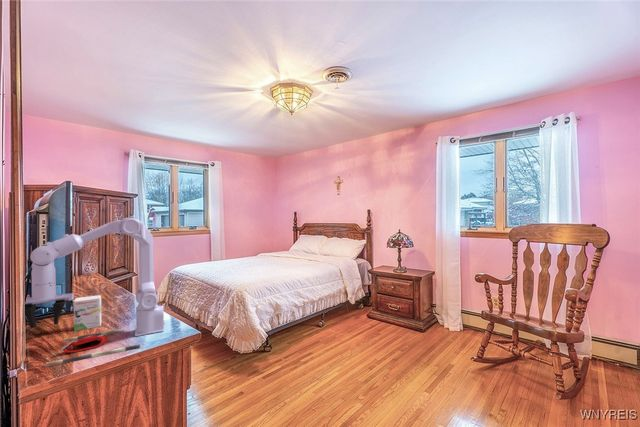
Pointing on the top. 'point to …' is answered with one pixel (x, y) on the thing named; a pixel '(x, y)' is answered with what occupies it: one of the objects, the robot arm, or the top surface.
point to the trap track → (93, 353)
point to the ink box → (87, 312)
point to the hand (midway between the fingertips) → (44, 325)
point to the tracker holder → (85, 340)
